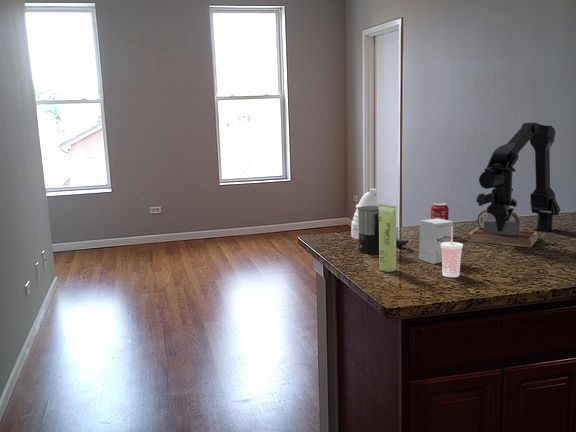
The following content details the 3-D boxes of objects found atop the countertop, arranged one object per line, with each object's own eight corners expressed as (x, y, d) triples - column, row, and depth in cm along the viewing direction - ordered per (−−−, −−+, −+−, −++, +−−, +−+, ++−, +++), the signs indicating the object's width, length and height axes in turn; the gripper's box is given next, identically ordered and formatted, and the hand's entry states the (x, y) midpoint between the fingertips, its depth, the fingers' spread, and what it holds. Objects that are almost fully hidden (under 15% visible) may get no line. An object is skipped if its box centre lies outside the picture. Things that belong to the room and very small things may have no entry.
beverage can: (446, 234, 219) (447, 202, 217) (449, 237, 213) (450, 205, 211) (429, 234, 220) (429, 202, 218) (431, 237, 214) (432, 205, 212)
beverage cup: (449, 279, 162) (450, 229, 160) (435, 273, 168) (436, 225, 165) (466, 276, 164) (468, 227, 162) (452, 271, 170) (453, 223, 167)
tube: (376, 271, 171) (376, 205, 168) (378, 267, 176) (378, 203, 172) (395, 272, 170) (396, 206, 166) (397, 268, 174) (398, 203, 171)
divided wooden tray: (477, 233, 219) (477, 226, 219) (537, 238, 208) (538, 231, 208) (467, 240, 207) (467, 234, 207) (530, 247, 196) (530, 239, 196)
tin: (518, 232, 219) (519, 210, 218) (517, 234, 217) (518, 211, 215) (478, 229, 227) (478, 207, 226) (475, 230, 225) (476, 209, 223)
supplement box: (434, 264, 177) (435, 223, 175) (418, 259, 184) (419, 219, 182) (452, 261, 181) (454, 221, 179) (436, 256, 187) (437, 217, 185)
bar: (519, 233, 203) (519, 222, 202) (515, 235, 200) (515, 224, 199) (487, 230, 209) (488, 219, 209) (483, 232, 206) (483, 221, 206)
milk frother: (351, 251, 197) (351, 207, 194) (378, 243, 208) (379, 201, 205) (387, 257, 187) (387, 212, 184) (413, 248, 198) (414, 205, 195)
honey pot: (392, 235, 219) (393, 188, 216) (372, 241, 210) (373, 192, 207) (364, 231, 228) (364, 185, 225) (344, 237, 219) (344, 189, 215)
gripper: (485, 181, 213) (484, 223, 216) (472, 188, 198) (470, 233, 201) (517, 182, 208) (515, 226, 210) (506, 189, 192) (504, 236, 195)
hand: (501, 230), depth 204 cm, fingers closed on bar, 4 cm apart
